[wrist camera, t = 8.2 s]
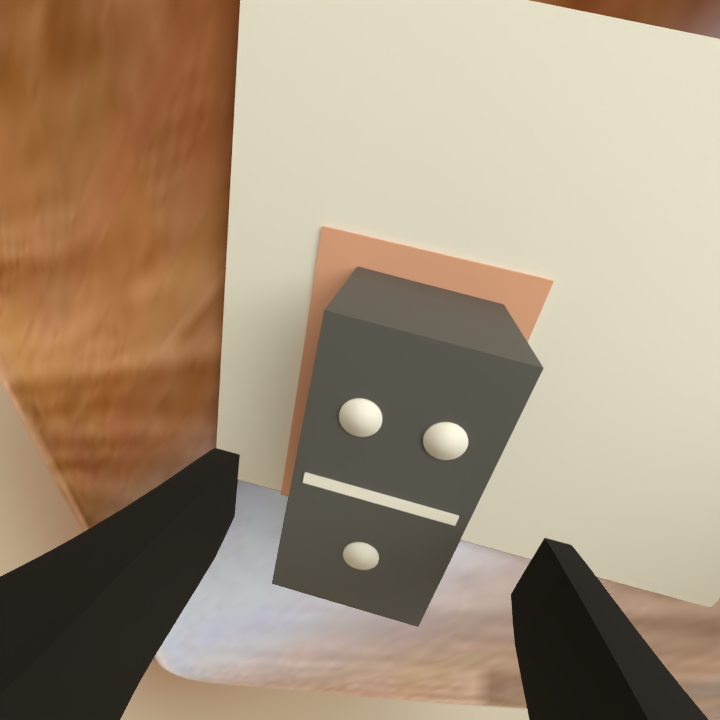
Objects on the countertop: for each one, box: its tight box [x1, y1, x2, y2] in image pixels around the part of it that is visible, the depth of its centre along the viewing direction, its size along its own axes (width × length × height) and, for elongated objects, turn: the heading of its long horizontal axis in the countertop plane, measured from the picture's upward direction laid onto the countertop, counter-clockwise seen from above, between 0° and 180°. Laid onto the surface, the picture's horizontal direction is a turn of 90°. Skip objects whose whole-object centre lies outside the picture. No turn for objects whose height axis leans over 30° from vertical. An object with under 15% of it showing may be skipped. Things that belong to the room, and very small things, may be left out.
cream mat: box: [216, 0, 720, 608], centre depth 13 cm, size 21×17×1 cm
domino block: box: [272, 267, 543, 627], centre depth 12 cm, size 9×5×5 cm, turn 168°
